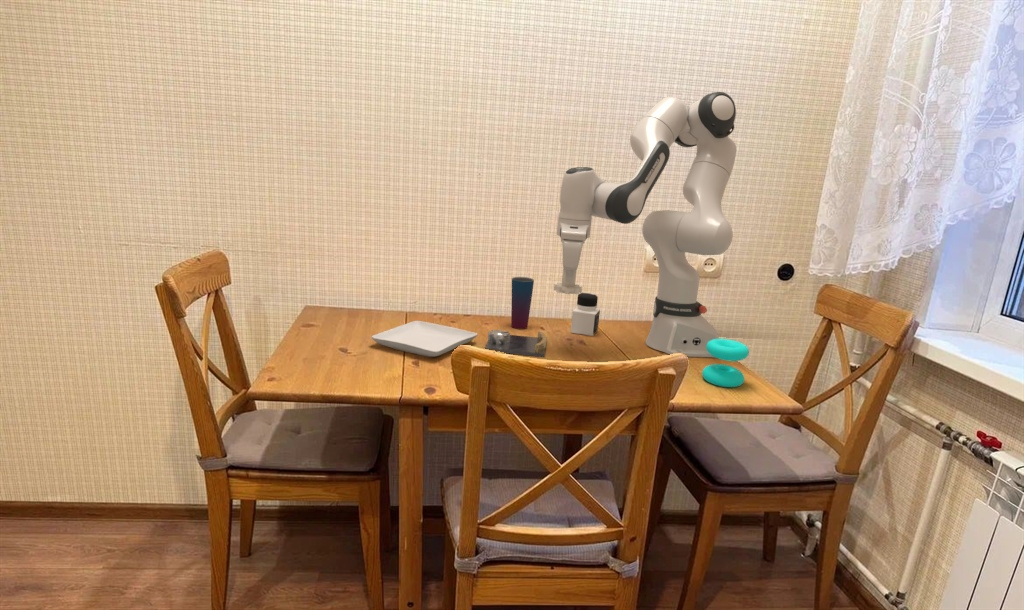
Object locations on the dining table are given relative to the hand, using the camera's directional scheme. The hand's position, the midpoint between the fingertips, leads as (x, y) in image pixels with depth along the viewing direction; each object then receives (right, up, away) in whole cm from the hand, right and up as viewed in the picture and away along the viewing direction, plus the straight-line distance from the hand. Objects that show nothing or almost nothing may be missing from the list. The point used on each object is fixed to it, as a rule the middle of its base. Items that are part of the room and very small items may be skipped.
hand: (568, 280), depth 163 cm
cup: (-13, -13, +23) cm, 30 cm away
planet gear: (0, -3, +1) cm, 3 cm away
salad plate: (-39, -18, 0) cm, 43 cm away
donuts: (+37, -26, -12) cm, 47 cm away
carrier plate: (-14, -18, +4) cm, 23 cm away
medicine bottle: (+7, -15, +23) cm, 28 cm away
